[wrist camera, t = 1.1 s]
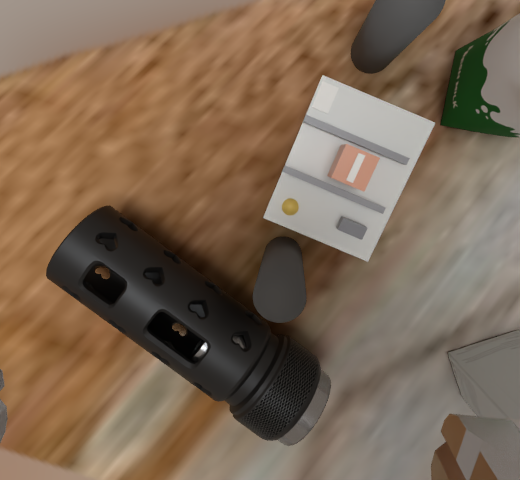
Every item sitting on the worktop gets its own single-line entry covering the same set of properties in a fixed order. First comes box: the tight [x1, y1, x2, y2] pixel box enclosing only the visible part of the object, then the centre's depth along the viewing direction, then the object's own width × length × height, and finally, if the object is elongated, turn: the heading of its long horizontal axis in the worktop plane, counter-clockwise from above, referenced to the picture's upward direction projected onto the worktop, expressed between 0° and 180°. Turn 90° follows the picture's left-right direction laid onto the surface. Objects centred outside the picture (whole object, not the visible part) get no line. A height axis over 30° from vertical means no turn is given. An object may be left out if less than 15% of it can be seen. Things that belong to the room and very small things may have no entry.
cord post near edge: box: [351, 0, 445, 73], centre depth 33 cm, size 4×4×14 cm
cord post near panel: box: [253, 237, 306, 323], centre depth 38 cm, size 4×4×14 cm
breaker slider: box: [327, 144, 380, 191], centre depth 36 cm, size 3×3×4 cm
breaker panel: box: [263, 75, 435, 262], centre depth 40 cm, size 11×14×6 cm
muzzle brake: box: [46, 206, 331, 446], centre depth 41 cm, size 10×28×10 cm, turn 53°
